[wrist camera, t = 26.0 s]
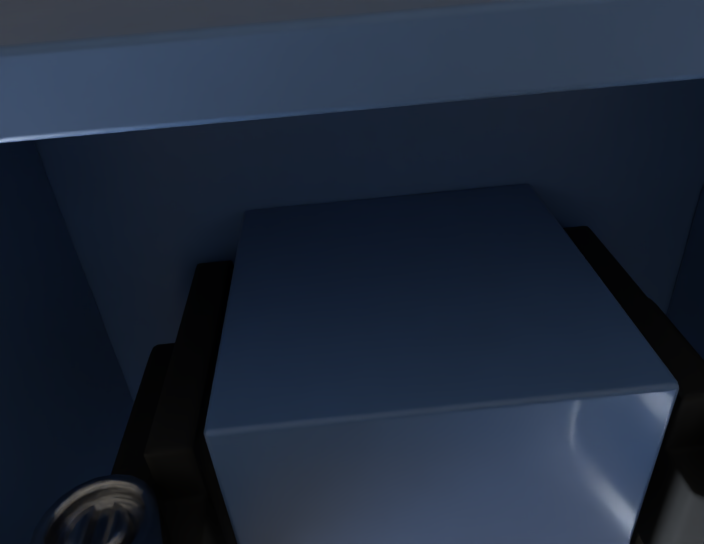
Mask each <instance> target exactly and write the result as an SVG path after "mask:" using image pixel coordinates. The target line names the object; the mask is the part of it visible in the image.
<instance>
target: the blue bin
mask: <svg viewBox="0 0 704 544" xmlns="http://www.w3.org/2000/svg"><path fill="white" fill-rule="evenodd" d="M521 184H529V185H531V186H532V188H533V189H534V190H535V192H536V193H537V194H538V196H539V197H540V198H541V200H542V201H543V202H544V204H545V205H546V206H547V208H548V209H549V210H550V212H551V213H552V214H553V216H554V217H555V218H556V220H557V221H558V222H559V224H560V225H561V226H562V228H567V227H577V226H588V227H589V228H590V229H591V230H592V231H593V233H594V234H595V235H596V236H597V237H598V238H599V240H600V241H601V242H602V243H603V244H604V246H605V247H606V248H607V249H608V250H609V252H610V253H611V254H612V255H613V256H614V258H615V259H616V260H617V261H618V262H619V264H620V265H621V266H622V267H623V268H624V270H625V271H626V272H627V273H628V274H629V275H630V277H631V278H632V279H633V280H634V281H635V283H636V284H637V285H638V286H639V287H640V289H641V290H642V291H643V292H644V293H645V295H646V296H647V297H649V298H650V299H651V300H653V301H654V302H655V303H656V304H657V305H658V306H659V308H660V309H661V310H662V311H663V312H664V314H665V315H666V316H667V317H668V318H669V319H670V321H671V322H672V323H673V324H674V325H675V327H676V328H677V329H678V330H679V331H680V333H681V334H682V335H683V336H684V337H685V338H686V340H687V341H688V342H689V343H690V344H691V346H692V347H693V348H694V349H695V350H696V351H697V353H698V354H699V355H700V356H701V357H702V359H703V360H704V0H0V544H30V542H31V539H32V535H33V532H34V529H35V527H36V526H37V524H38V523H39V521H40V519H41V518H42V516H43V515H44V513H45V512H46V511H47V510H48V509H49V508H50V507H51V506H52V505H53V504H54V503H55V502H56V501H57V500H58V499H59V498H60V497H61V496H63V495H64V494H66V493H67V492H68V491H70V490H71V489H73V488H74V487H76V486H77V485H80V484H82V483H84V482H87V481H89V480H91V479H94V478H96V477H102V476H107V475H111V472H112V469H113V466H114V463H115V460H116V457H117V454H118V451H119V447H120V444H121V441H122V438H123V435H124V432H125V429H126V426H127V423H128V420H129V417H130V414H131V411H132V408H133V405H134V402H135V399H136V395H137V392H138V389H139V386H140V383H141V380H142V377H143V374H144V371H145V368H146V365H147V362H148V359H149V356H150V353H151V351H152V349H153V347H154V346H156V345H158V344H168V343H175V341H176V337H177V334H178V330H179V327H180V323H181V319H182V316H183V312H184V309H185V305H186V302H187V298H188V294H189V291H190V287H191V284H192V280H193V277H194V273H195V270H196V267H197V264H199V263H209V262H219V261H230V260H231V261H232V262H233V264H235V258H236V253H237V247H238V242H239V236H240V231H241V225H242V220H243V214H244V212H245V211H247V210H258V209H268V208H279V207H290V206H300V205H311V204H321V203H332V202H342V201H353V200H363V199H374V198H384V197H395V196H405V195H416V194H426V193H437V192H447V191H458V190H468V189H479V188H489V187H500V186H510V185H521Z"/></svg>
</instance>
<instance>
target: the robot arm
mask: <svg viewBox="0 0 704 544" xmlns="http://www.w3.org/2000/svg"><path fill="white" fill-rule="evenodd" d="M563 229H564V230H565V232H566V233H567V235H568V236H569V237H570V239H571V240H572V241H573V243H574V244H575V245H576V247H577V248H578V249H579V251H580V252H581V253H582V255H583V256H584V257H585V259H586V260H587V261H588V263H589V264H590V265H591V267H592V268H593V269H594V271H595V272H596V273H597V275H598V276H599V277H600V279H601V280H602V281H603V283H604V284H605V285H606V287H607V288H608V289H609V291H610V292H611V293H612V295H613V296H614V297H615V299H616V300H617V301H618V303H619V304H620V305H621V307H622V308H623V309H624V311H625V312H626V313H627V315H628V316H629V318H630V319H631V320H632V322H633V323H634V324H635V326H636V327H637V328H638V330H639V331H640V332H641V334H642V335H643V336H644V338H645V339H646V340H647V342H648V343H649V344H650V346H651V347H652V348H653V350H654V351H655V352H656V354H657V355H658V356H659V358H660V359H661V360H662V362H663V363H664V364H665V366H666V367H667V368H668V370H669V371H670V372H671V374H672V375H673V376H674V378H675V379H676V380H677V382H678V385H679V391H678V394H677V397H676V400H675V403H674V406H673V409H672V413H671V416H670V419H669V422H668V425H667V428H666V431H665V434H664V438H663V441H662V444H661V447H660V450H659V453H658V456H657V459H656V463H655V466H654V469H653V472H652V475H651V478H650V481H649V484H648V488H647V491H646V494H645V497H644V500H643V503H642V506H641V509H640V513H639V516H638V519H637V522H636V525H635V528H634V531H633V535H632V538H631V541H630V544H704V360H703V359H702V357H701V356H700V355H699V354H698V353H697V351H696V350H695V349H694V348H693V347H692V346H691V344H690V343H689V342H688V341H687V340H686V338H685V337H684V336H683V335H682V334H681V333H680V331H679V330H678V329H677V328H676V327H675V325H674V324H673V323H672V322H671V321H670V319H669V318H668V317H667V316H666V315H665V314H664V312H663V311H662V310H661V309H660V308H659V306H658V305H657V304H656V303H655V302H654V301H653V300H651V299H650V298H649V297H647V296H646V295H645V293H644V292H643V291H642V290H641V289H640V287H639V286H638V285H637V284H636V283H635V281H634V280H633V279H632V278H631V277H630V275H629V274H628V273H627V272H626V271H625V270H624V268H623V267H622V266H621V265H620V264H619V262H618V261H617V260H616V259H615V258H614V256H613V255H612V254H611V253H610V252H609V250H608V249H607V248H606V247H605V246H604V244H603V243H602V242H601V241H600V240H599V238H598V237H597V236H596V235H595V234H594V233H593V231H592V230H591V229H590V228H589V227H588V226H577V227H567V228H563ZM233 269H234V264H233V262H232V261H231V260H230V261H219V262H209V263H199V264H197V267H196V270H195V273H194V277H193V280H192V284H191V287H190V291H189V294H188V298H187V302H186V305H185V309H184V312H183V316H182V319H181V323H180V327H179V330H178V334H177V337H176V341H175V343H168V344H158V345H156V346H154V347H153V349H152V351H151V353H150V356H149V359H148V362H147V365H146V368H145V371H144V374H143V377H142V380H141V383H140V386H139V389H138V392H137V395H136V399H135V402H134V405H133V408H132V411H131V414H130V417H129V420H128V423H127V426H126V429H125V432H124V435H123V438H122V441H121V444H120V447H119V451H118V454H117V457H116V460H115V463H114V466H113V469H112V472H111V475H107V476H102V477H96V478H94V479H91V480H89V481H87V482H84V483H82V484H80V485H77V486H76V487H74V488H73V489H71V490H70V491H68V492H67V493H66V494H64V495H63V496H61V497H60V498H59V499H58V500H57V501H56V502H55V503H54V504H53V505H52V506H51V507H50V508H49V509H48V510H47V511H46V512H45V513H44V515H43V516H42V518H41V519H40V521H39V523H38V524H37V526H36V527H35V529H34V532H33V535H32V539H31V542H30V544H237V541H236V538H235V534H234V531H233V528H232V525H231V521H230V518H229V515H228V512H227V508H226V505H225V502H224V498H223V495H222V492H221V489H220V485H219V482H218V479H217V476H216V472H215V469H214V466H213V462H212V459H211V456H210V453H209V449H208V446H207V443H206V440H205V436H204V428H205V423H206V417H207V412H208V406H209V401H210V395H211V390H212V384H213V379H214V373H215V368H216V362H217V357H218V351H219V346H220V340H221V335H222V329H223V324H224V318H225V313H226V308H227V302H228V297H229V291H230V286H231V280H232V275H233Z"/></svg>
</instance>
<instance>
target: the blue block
mask: <svg viewBox="0 0 704 544" xmlns="http://www.w3.org/2000/svg"><path fill="white" fill-rule="evenodd" d="M678 391H679V385H678V382H677V380H676V379H675V378H674V376H673V375H672V374H671V372H670V371H669V370H668V368H667V367H666V366H665V364H664V363H663V362H662V360H661V359H660V358H659V356H658V355H657V354H656V352H655V351H654V350H653V348H652V347H651V346H650V344H649V343H648V342H647V340H646V339H645V338H644V336H643V335H642V334H641V332H640V331H639V330H638V328H637V327H636V326H635V324H634V323H633V322H632V320H631V319H630V318H629V316H628V315H627V313H626V312H625V311H624V309H623V308H622V307H621V305H620V304H619V303H618V301H617V300H616V299H615V297H614V296H613V295H612V293H611V292H610V291H609V289H608V288H607V287H606V285H605V284H604V283H603V281H602V280H601V279H600V277H599V276H598V275H597V273H596V272H595V271H594V269H593V268H592V267H591V265H590V264H589V263H588V261H587V260H586V259H585V257H584V256H583V255H582V253H581V252H580V251H579V249H578V248H577V247H576V245H575V244H574V243H573V241H572V240H571V239H570V237H569V236H568V235H567V233H566V232H565V230H564V229H563V228H562V226H561V225H560V224H559V222H558V221H557V220H556V218H555V217H554V216H553V214H552V213H551V212H550V210H549V209H548V208H547V206H546V205H545V204H544V202H543V201H542V200H541V198H540V197H539V196H538V194H537V193H536V192H535V190H534V189H533V188H532V186H531V185H529V184H521V185H510V186H500V187H489V188H479V189H468V190H458V191H447V192H437V193H426V194H416V195H405V196H395V197H384V198H374V199H363V200H353V201H342V202H332V203H321V204H311V205H300V206H290V207H279V208H268V209H258V210H247V211H245V212H244V214H243V220H242V225H241V231H240V236H239V242H238V247H237V253H236V258H235V264H234V269H233V275H232V280H231V286H230V291H229V297H228V302H227V308H226V313H225V318H224V324H223V329H222V335H221V340H220V346H219V351H218V357H217V362H216V368H215V373H214V379H213V384H212V390H211V395H210V401H209V406H208V412H207V417H206V423H205V428H204V436H205V440H206V443H207V446H208V449H209V453H210V456H211V459H212V462H213V466H214V469H215V472H216V476H217V479H218V482H219V485H220V489H221V492H222V495H223V498H224V502H225V505H226V508H227V512H228V515H229V518H230V521H231V525H232V528H233V531H234V534H235V538H236V541H237V544H630V541H631V538H632V535H633V531H634V528H635V525H636V522H637V519H638V516H639V513H640V509H641V506H642V503H643V500H644V497H645V494H646V491H647V488H648V484H649V481H650V478H651V475H652V472H653V469H654V466H655V463H656V459H657V456H658V453H659V450H660V447H661V444H662V441H663V438H664V434H665V431H666V428H667V425H668V422H669V419H670V416H671V413H672V409H673V406H674V403H675V400H676V397H677V394H678Z"/></svg>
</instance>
